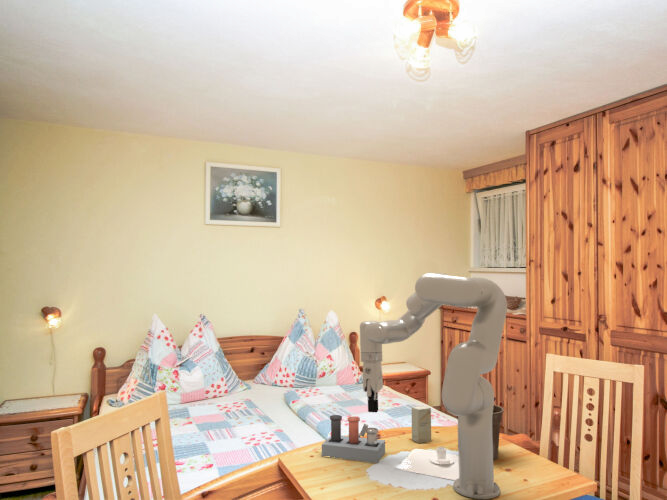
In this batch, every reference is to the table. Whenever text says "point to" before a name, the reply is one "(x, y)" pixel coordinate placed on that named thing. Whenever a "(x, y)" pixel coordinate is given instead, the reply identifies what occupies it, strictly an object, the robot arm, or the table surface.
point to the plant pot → (496, 428)
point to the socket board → (354, 450)
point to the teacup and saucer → (434, 463)
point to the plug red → (353, 429)
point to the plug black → (335, 427)
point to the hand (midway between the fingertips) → (373, 411)
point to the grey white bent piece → (363, 430)
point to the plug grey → (372, 436)
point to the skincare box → (421, 424)
